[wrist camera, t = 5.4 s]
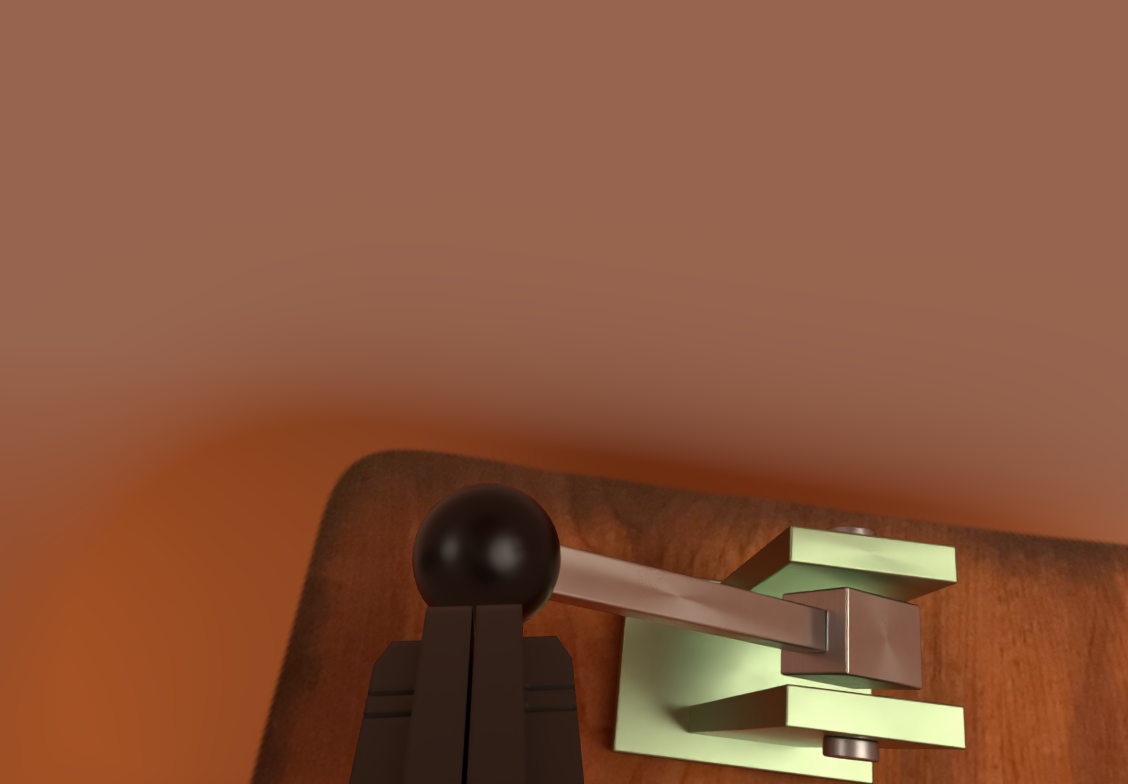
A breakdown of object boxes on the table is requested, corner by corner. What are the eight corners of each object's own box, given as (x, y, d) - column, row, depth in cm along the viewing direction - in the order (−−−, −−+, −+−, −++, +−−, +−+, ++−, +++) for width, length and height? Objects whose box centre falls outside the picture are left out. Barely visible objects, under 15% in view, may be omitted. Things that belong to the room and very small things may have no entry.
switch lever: (378, 623, 19) (435, 614, 17) (405, 482, 20) (462, 453, 18) (842, 707, 25) (937, 710, 23) (842, 594, 26) (933, 585, 24)
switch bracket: (609, 751, 35) (667, 756, 21) (626, 573, 37) (687, 474, 24) (862, 783, 35) (1086, 809, 21) (861, 603, 37) (1059, 521, 24)
